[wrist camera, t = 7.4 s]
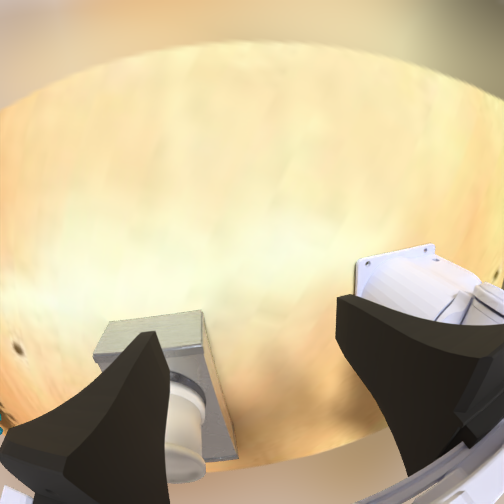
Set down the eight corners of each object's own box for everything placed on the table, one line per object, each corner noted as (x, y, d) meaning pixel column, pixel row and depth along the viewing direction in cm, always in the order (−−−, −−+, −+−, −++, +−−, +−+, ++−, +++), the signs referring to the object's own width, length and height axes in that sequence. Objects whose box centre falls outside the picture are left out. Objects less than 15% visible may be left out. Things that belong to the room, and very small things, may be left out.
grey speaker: (202, 309, 21) (202, 343, 17) (234, 427, 26) (239, 459, 22) (108, 321, 20) (91, 354, 16) (164, 433, 25) (162, 465, 21)
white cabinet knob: (200, 379, 17) (201, 449, 12) (208, 424, 19) (211, 484, 13) (125, 378, 17) (106, 442, 11) (143, 423, 18) (134, 480, 13)
